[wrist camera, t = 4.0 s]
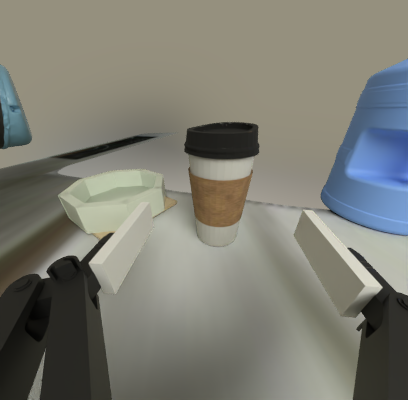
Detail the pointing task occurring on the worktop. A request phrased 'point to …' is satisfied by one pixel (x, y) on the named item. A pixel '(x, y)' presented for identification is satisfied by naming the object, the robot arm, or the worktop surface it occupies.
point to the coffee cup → (220, 177)
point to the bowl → (113, 199)
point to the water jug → (375, 157)
